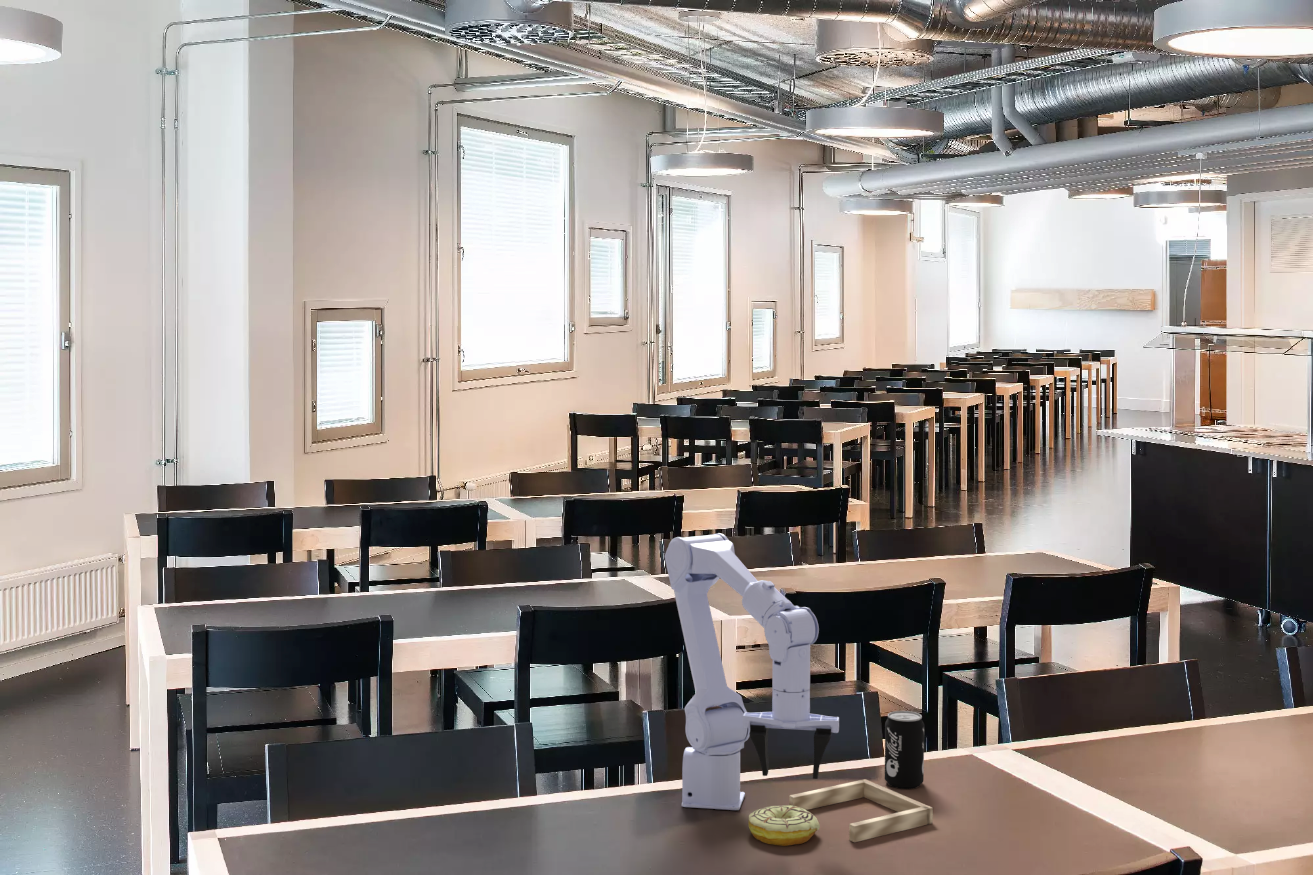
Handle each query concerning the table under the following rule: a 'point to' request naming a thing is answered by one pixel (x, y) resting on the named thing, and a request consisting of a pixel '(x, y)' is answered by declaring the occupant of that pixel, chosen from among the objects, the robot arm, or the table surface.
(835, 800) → the u-shaped wooden bracket
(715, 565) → the robot arm
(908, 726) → the beverage can
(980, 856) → the table surface
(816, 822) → the decorated donut
